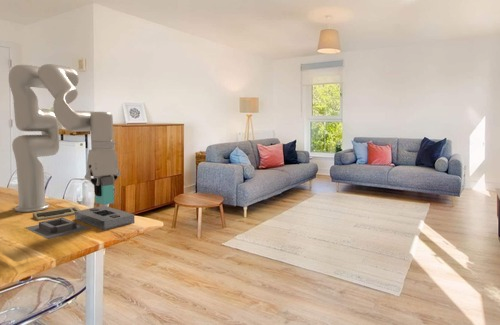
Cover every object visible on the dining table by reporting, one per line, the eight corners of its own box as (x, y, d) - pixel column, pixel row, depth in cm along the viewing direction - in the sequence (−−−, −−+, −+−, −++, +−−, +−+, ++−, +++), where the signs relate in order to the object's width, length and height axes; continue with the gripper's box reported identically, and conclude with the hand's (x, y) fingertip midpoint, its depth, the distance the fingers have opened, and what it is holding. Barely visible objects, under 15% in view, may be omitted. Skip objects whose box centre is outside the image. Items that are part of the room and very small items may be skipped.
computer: (37, 224, 125) (37, 216, 125) (32, 219, 131) (32, 211, 131) (82, 217, 136) (82, 209, 136) (75, 213, 142) (75, 205, 142)
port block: (75, 221, 128) (74, 211, 128) (104, 215, 138) (104, 205, 138) (104, 232, 117) (104, 221, 116) (134, 224, 127) (134, 213, 126)
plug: (95, 202, 126) (94, 176, 125) (105, 200, 130) (104, 174, 129) (104, 204, 123) (103, 177, 122) (114, 202, 126) (113, 176, 125)
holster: (24, 230, 117) (24, 222, 117) (65, 221, 129) (65, 213, 128) (48, 242, 107) (48, 233, 106) (91, 231, 118) (91, 222, 118)
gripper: (117, 144, 133) (118, 189, 135) (74, 146, 119) (76, 197, 121) (128, 145, 128) (129, 192, 131) (85, 147, 115) (87, 200, 117)
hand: (104, 194), depth 126 cm, fingers closed on plug, 4 cm apart
